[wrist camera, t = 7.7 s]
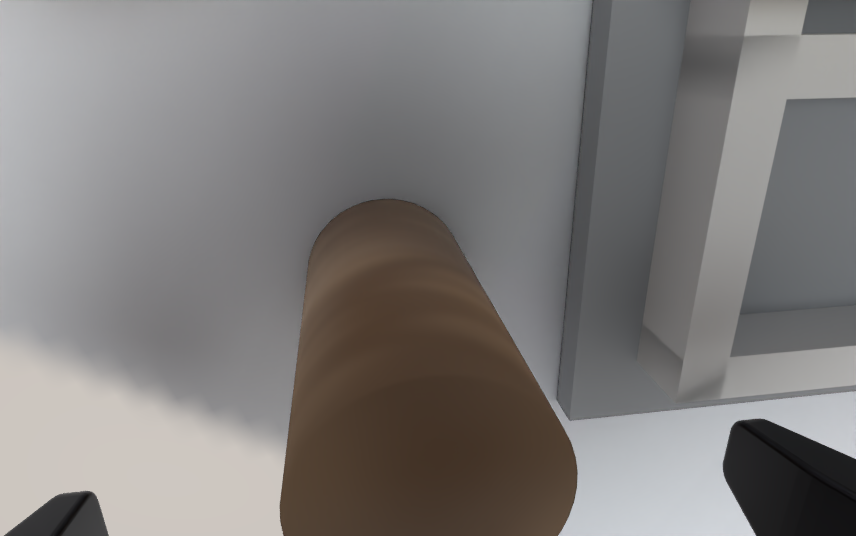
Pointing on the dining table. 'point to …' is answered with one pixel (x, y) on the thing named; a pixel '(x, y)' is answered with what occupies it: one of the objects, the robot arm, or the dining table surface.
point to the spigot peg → (414, 395)
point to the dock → (713, 207)
